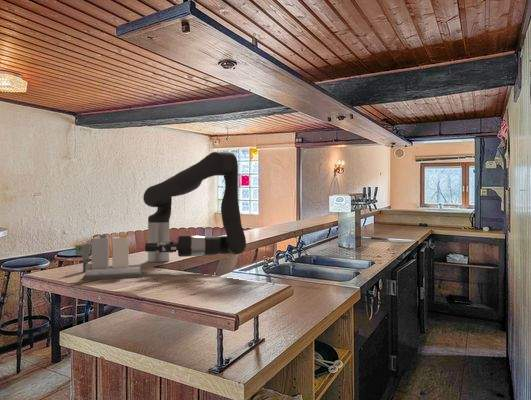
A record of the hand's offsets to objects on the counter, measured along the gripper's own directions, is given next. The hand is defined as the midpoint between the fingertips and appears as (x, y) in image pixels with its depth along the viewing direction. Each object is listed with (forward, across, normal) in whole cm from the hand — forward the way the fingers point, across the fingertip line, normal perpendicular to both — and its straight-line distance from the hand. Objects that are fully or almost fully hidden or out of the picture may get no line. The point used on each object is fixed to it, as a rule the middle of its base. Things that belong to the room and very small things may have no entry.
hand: (145, 247), depth 135 cm
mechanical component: (+21, -14, +10) cm, 27 cm away
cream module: (+8, 0, +8) cm, 12 cm away
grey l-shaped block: (+10, 0, +10) cm, 14 cm away
